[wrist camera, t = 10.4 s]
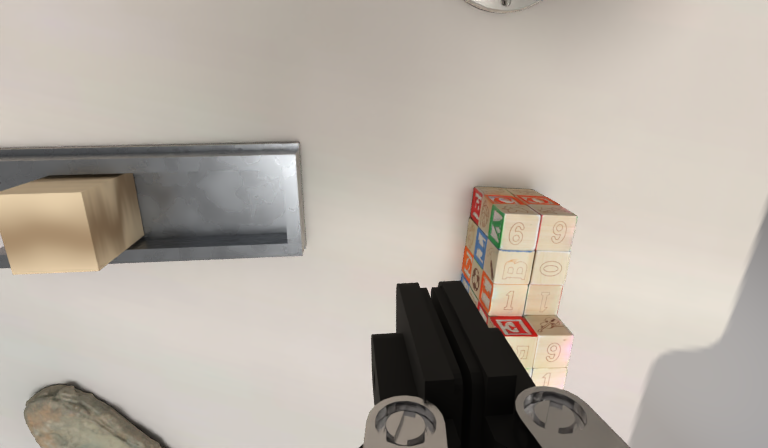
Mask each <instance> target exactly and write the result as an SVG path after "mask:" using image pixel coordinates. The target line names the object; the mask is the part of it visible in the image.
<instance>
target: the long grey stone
mask: <svg viewBox="0 0 768 448" xmlns="http://www.w3.org/2000/svg"><path fill="white" fill-rule="evenodd" d="M24 417H25V420H26V424H27V425H28V427H29V429H30V431H31V433H32V435H33V436H34V437H35V440H36V442H37V443H38V444H39V445H40V447H41V448H163V447H161V446H160V444H159V442H157V441H155V440H153V439H150V437H148V436H147V435H146V434H144V433H143V432H142V431H140V430H139V429H137V427H136V426H135V425H133V424H132V423H131V422H129V421H128V420H127V419H126V418H124V417H123V416H122V415H121V414H120V413H118V412H117V411H116V410H115V409H113V407H112V406H109V405H107V404H106V403H104V402H103V401H100V400H98V399H96V398H95V397H94V395H93V394H92V393H85V392H82V391H81V390H79V389H76V388H74V386H67V385H61V384H60V385H52V386H50V387H47V388H44V389H42V390H41V391H39V392H38V393H36V394H35V395H34V396H33V397H31V398H30V399H29V400H28V401H27V402H26V408H25V410H24Z"/></svg>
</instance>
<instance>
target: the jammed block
mask: <svg viewBox="0 0 768 448" xmlns="http://www.w3.org/2000/svg"><path fill="white" fill-rule="evenodd" d="M0 233H1V236H2V239H3V243H4V246H5V250H6V253H7V257H8V260H9V263H10V267H11V270H12V274H13V275H16V274H39V273H63V272H86V271H100V270H101V269H102V268H103V267H105V266H106V265H107V264H108V263H110V262H111V261H112V260H113V259H115V258H116V257H117V256H119V255H120V254H121V253H122V252H124V251H125V250H126V249H127V248H129V247H130V246H131V245H133V244H134V243H135V242H136V241H138V240H139V239H140V238H141V237H143V236H144V231H143V225H142V220H141V215H140V209H139V204H138V198H137V193H136V188H135V182H134V177H133V173H118V174H79V175H49V176H46V177H43V178H40V179H37V180H34V181H31V182H28V183H25V184H22V185H19V186H15V187H12V188H9V189H6V190H3V191H0Z"/></svg>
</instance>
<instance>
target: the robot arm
mask: <svg viewBox="0 0 768 448" xmlns="http://www.w3.org/2000/svg"><path fill="white" fill-rule="evenodd" d="M465 1H466V2H468V3H469V4H471V5H473V6H475V7H477V8H479V9H482V10H486V11H489V12H498V13H508V12H514V11H520V10H522V9H525V8H528V7H531V6H533V5H535V4H537V3H539V2H541V1H543V0H504V1H505V5H504V6H503V5H502V4H501V0H465ZM371 350H372V380H373V395H374V405H375V406H374V407H373V409H372V410H371V411H370V412H369V415H368V418H367V421H366V428H365V436H364V444H363V445H362V446H360V447H359V448H630V447H629V446H628V445H627V444H626V443H625V442H624V441H623V440H622V439H621V438H620V437H619V436H618V435H617V434H616V433H615V432H614V431H613V430H612V429H611V428H610V427H609V426H608V425H607V424H606V422H605V421H604V420H603V419H602V418H601V417H600V416H599V415H598V414H597V413H596V412H595V411H594V410H593V409H592V408H591V407H590V406H589V405H588V404H587V403H585V402H584V401H583V400H582V399H580V398H579V397H578V396H576V395H574V394H572V393H570V392H568V391H565V390H562V389H559V388H556V387H548V386H536V385H535V384H534V382H533V380H532V379H531V377H530V376H529V374H528V373H527V371H526V369H525V368H524V366H523V365H522V363H521V362H520V360H519V358H518V357H517V355H516V354H515V352H514V351H513V349H512V347H511V346H510V344H509V343H508V341H507V340H506V338H505V336H504V335H503V333H502V332H501V330H500V329H499V328H496V327H494V328H489V327H488V325H487V324H486V322H485V320H484V319H483V317H482V315H481V314H480V312H479V310H478V309H477V307H476V305H475V304H474V302H473V300H472V299H471V297H470V295H469V293H468V292H467V290H466V288H465V287H464V285H463V283H462V282H461V281H444V282H439V284H438V287H432V289H431V298H430V295H429V293H428V290H427V288H420V286H419V284H418V283H402V284H397V288H396V333H388V334H372V336H371Z"/></svg>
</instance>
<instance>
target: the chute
mask: <svg viewBox="0 0 768 448" xmlns="http://www.w3.org/2000/svg"><path fill="white" fill-rule="evenodd" d="M118 173H133V177H134V182H135V188H136V193H137V198H138V204H139V209H140V215H141V220H142V225H143V231H144V236H143V237H141V238H140V239H139V240H138V241H136V242H135V243H134V244H133V245H131V246H130V247H129V248H127V249H126V250H125V251H124V252H122V253H121V254H120V255H119V256H117V257H116V258H115V259H113V260H112V261H111V262H110V263H108V264H115V263H139V262H163V261H187V260H210V259H234V258H258V257H282V256H302V255H303V251H304V249H305V248H306V235H305V220H304V205H303V190H302V175H301V160H300V146H299V142H278V143H230V144H181V145H132V146H84V147H35V148H0V191H3V190H6V189H9V188H12V187H15V186H19V185H22V184H25V183H28V182H31V181H34V180H37V179H40V178H43V177H46V176H49V175H79V174H118ZM0 268H11V267H10V263H9V260H8V257H7V253H6V250H5V246H4V247H2V248H0Z"/></svg>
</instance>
